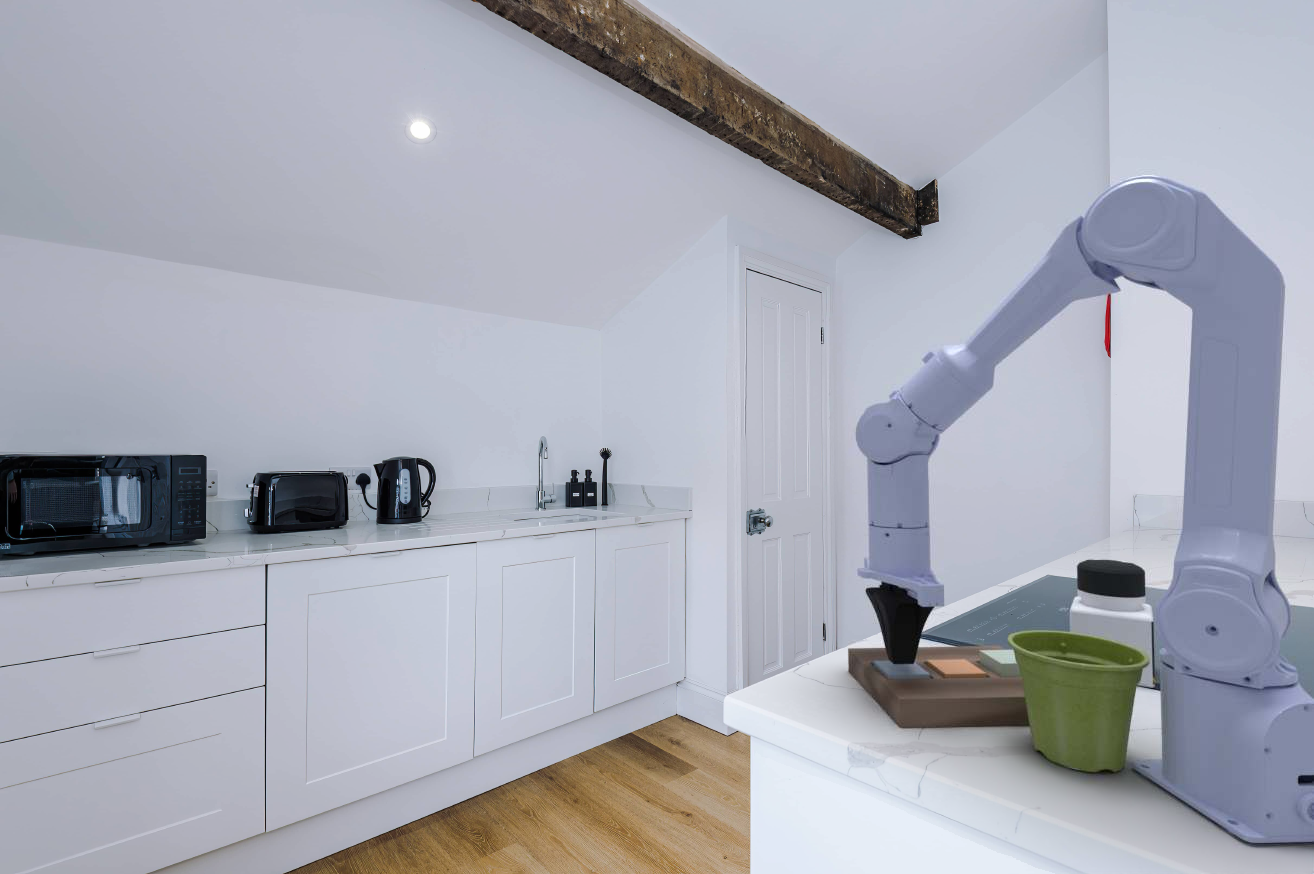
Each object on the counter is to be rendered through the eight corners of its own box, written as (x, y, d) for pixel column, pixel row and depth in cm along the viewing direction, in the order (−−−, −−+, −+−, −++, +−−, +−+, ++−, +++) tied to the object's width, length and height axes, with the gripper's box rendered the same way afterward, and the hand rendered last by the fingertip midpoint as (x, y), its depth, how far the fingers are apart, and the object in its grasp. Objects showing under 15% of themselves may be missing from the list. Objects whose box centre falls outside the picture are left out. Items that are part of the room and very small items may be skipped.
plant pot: (1020, 719, 56) (1018, 623, 57) (1153, 750, 50) (1150, 642, 51) (998, 759, 49) (996, 649, 49) (1151, 801, 43) (1147, 675, 43)
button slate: (930, 699, 60) (930, 674, 60) (889, 699, 60) (888, 674, 60) (912, 683, 64) (912, 660, 64) (874, 684, 64) (873, 660, 64)
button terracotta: (986, 698, 60) (986, 673, 60) (945, 698, 60) (945, 673, 60) (965, 682, 64) (965, 659, 64) (927, 683, 64) (926, 659, 64)
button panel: (1090, 723, 55) (1089, 695, 55) (900, 727, 55) (899, 698, 55) (1000, 668, 69) (999, 645, 69) (848, 670, 69) (848, 648, 69)
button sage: (1043, 687, 60) (1042, 662, 60) (1002, 688, 60) (1001, 663, 60) (1018, 672, 64) (1017, 649, 64) (979, 673, 64) (979, 650, 64)
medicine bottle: (1155, 689, 63) (1152, 570, 63) (1070, 674, 67) (1068, 562, 68) (1153, 669, 69) (1150, 559, 69) (1075, 656, 73) (1073, 553, 73)
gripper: (836, 517, 70) (838, 640, 69) (887, 535, 55) (890, 690, 55) (899, 516, 70) (901, 639, 69) (966, 534, 55) (969, 689, 55)
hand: (901, 661), depth 62 cm, fingers closed
